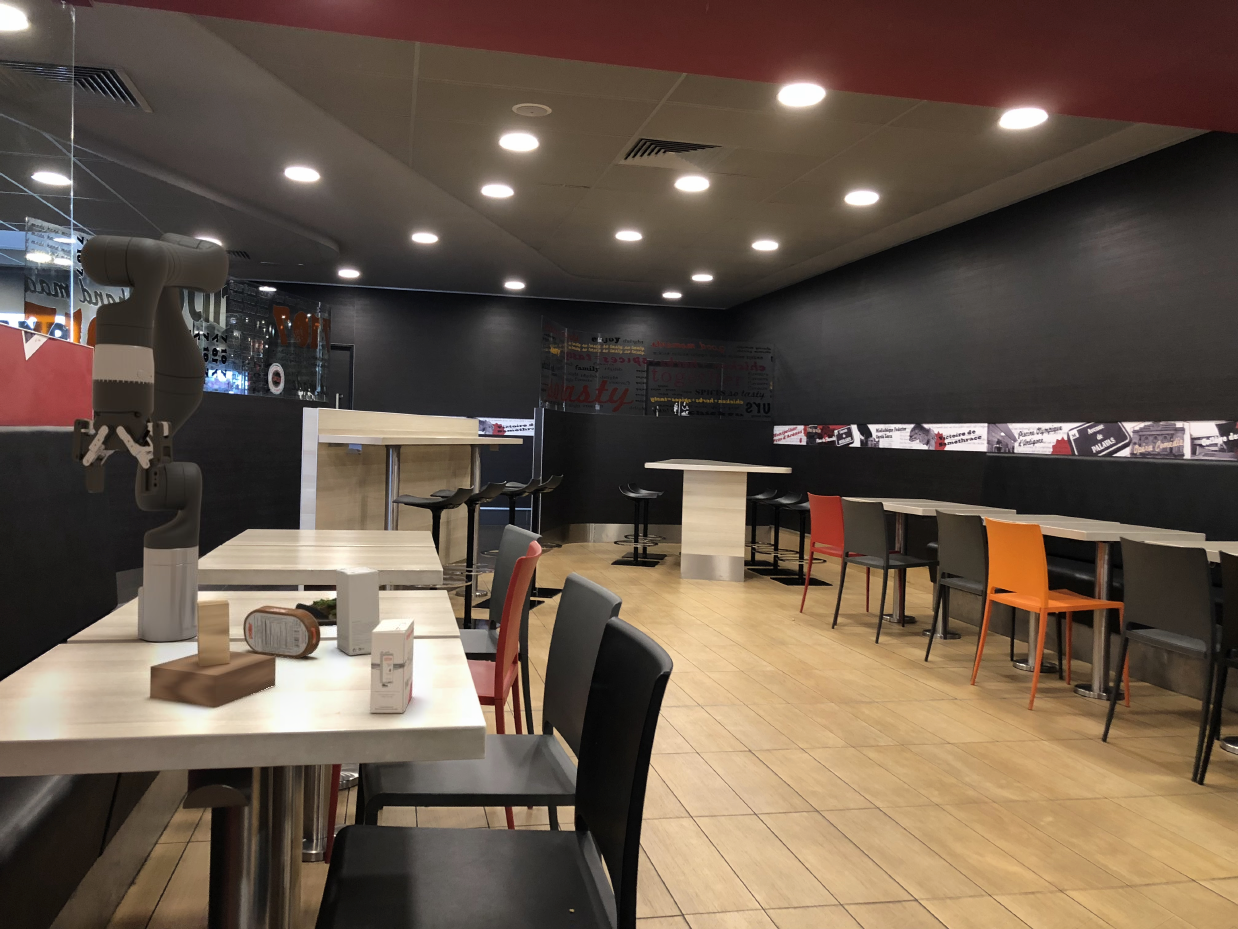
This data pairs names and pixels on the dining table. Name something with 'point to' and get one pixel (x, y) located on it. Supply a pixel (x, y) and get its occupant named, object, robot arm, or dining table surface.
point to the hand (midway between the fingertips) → (121, 493)
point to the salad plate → (322, 611)
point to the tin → (281, 631)
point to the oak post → (213, 632)
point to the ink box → (391, 666)
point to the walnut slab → (212, 679)
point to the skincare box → (356, 608)
